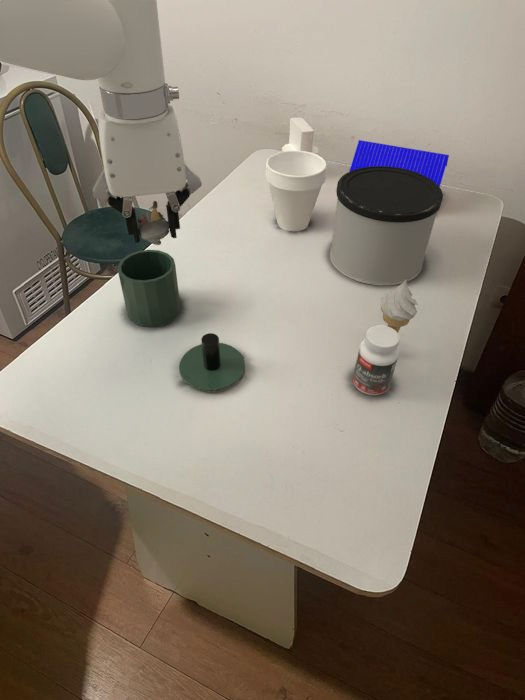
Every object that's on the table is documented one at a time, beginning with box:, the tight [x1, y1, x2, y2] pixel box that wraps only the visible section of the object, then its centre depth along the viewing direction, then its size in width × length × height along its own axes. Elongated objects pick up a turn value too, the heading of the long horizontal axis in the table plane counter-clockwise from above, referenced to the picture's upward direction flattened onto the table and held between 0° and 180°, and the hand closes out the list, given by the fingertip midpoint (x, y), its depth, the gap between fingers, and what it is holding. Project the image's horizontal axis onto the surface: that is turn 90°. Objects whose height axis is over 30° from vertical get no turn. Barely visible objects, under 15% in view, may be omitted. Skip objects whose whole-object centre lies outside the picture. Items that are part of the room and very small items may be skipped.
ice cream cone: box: [380, 280, 419, 334], centre depth 78 cm, size 6×6×15 cm
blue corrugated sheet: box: [348, 139, 450, 188], centre depth 118 cm, size 12×20×12 cm, turn 68°
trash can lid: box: [178, 332, 246, 392], centre depth 78 cm, size 10×10×7 cm
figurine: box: [137, 200, 170, 246], centre depth 72 cm, size 5×4×6 cm
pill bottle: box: [352, 324, 400, 396], centre depth 76 cm, size 6×6×10 cm
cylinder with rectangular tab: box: [281, 116, 319, 155], centre depth 126 cm, size 9×9×12 cm
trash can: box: [117, 249, 181, 328], centre depth 88 cm, size 9×9×10 cm
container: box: [329, 166, 444, 287], centre depth 98 cm, size 19×19×15 cm
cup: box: [265, 150, 328, 232], centre depth 108 cm, size 12×12×14 cm
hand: (154, 234), depth 73 cm, fingers closed on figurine, 4 cm apart
